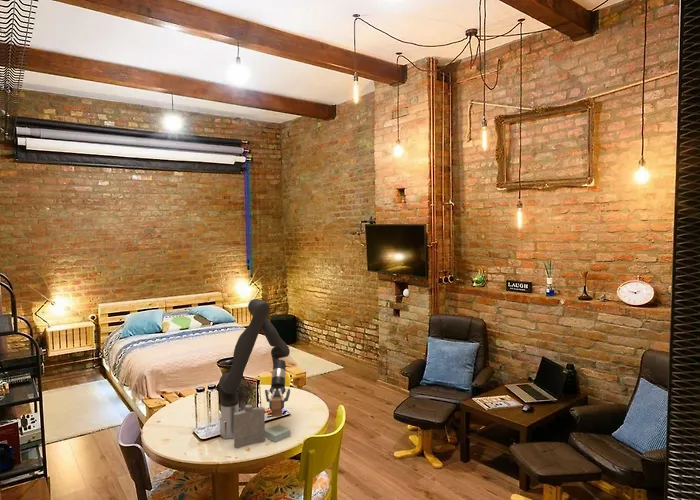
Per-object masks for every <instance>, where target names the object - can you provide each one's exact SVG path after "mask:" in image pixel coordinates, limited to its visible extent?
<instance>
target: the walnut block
mask: <svg viewBox="0 0 700 500" xmlns="http://www.w3.org/2000/svg"><path fill="white" fill-rule="evenodd" d="M281 401H282V397H273V398H272V400H271V406H272V410H271V418H281V417H282V415H283V409H281Z"/></svg>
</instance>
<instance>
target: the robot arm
mask: <svg viewBox="0 0 700 500" xmlns="http://www.w3.org/2000/svg"><path fill="white" fill-rule="evenodd" d="M247 309H248V312H249V314H251V316H252V317H251V320H250V322H249V325H248V326H247V327H246V328H245V329H244V330H243V332H242V333H241V334H240V335H239V336H238V339H237V341H236V344H235V347H234V349H233V355H232V356H233V357H232V364H231V367H230V369H229V372H225V373H223V374H222V375H221V376H220V378H219V381H218V382H219V383H218V389H219V399H220V418H219V433H220V434H219V435H220V436H221V437H222V438H223V439H224V440H226V439H234V413H235V412H239V410H240V407H239V404H240V402H239V399H240V398H239V395H238V392H237V391H238V390H239V388H240V386H241V382H242V379H243V377H244V372H245V369H246V367H247V365H248V362H249V360H250V357H251V354H252V353H253V349H254V347H255V345H256V341H257V339H258V336H259V334H260V331H262V332H263V335H264V337H265V338H266V340H267V343H268V345H269V346H271V350H270V355H271V360H272V373H271V384H270V388H269V389H265V390H264V395H265V399H266V402H267V403H269V404H268V406H269V409H270V410H271V411H272V406H271V400H272V398H273V397H282V401H281V409H282V410H284V408H285V402H289V399H290V394H291V389H290V388H288V389H286V368H287V367H286V365H287V364H286V361H285V360H284V359H283V358H287V357H289V356H290V353H291V352H290V351H291V350H290V348H289V346H288V344H287V343H286V342H285V341H284V340H283V339H282V337H280V335H279V332H278V331H277V330H278V329H276V327H275V325H273V324H272V322H271V321H270V320H269V318H268V315H269V312H270V304H269V303H268V302H267V301H264V300H262V299H259V298H253V299H251V300H250V301H249V303H248V304H247ZM270 393H271V395H270ZM284 394H286V396H285V398H284ZM269 395H270V398H269Z"/></svg>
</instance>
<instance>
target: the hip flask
mask: <svg viewBox="0 0 700 500" xmlns="http://www.w3.org/2000/svg"><path fill="white" fill-rule="evenodd" d="M244 407H245V409H243V410H240V411H239V412H235V413H234V438H233V442H234V444H233V445H234V446H233V447H234V449H240V448H243V447H246V446H250V445H254V444H258V443H259V444H260V443H264V442H265V441H266V438H265V429H266V427H265V426H266V424H265V423H266V422H265V407H264V406H261V407H260V406H259V407H253V405H252V404H246V405H245V406H244Z"/></svg>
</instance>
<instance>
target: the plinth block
mask: <svg viewBox="0 0 700 500" xmlns="http://www.w3.org/2000/svg"><path fill="white" fill-rule="evenodd" d="M290 437H291V429H290V428H288V427H286V426H284V425H282V424H279V423H278V424H275V425H272V426H270V427H268V428H265V439H267V440H270V441H271V442H273V443H274V444H275V443H279V442H280V441H283V440H285V439H287V438H290ZM278 441H279V442H278Z"/></svg>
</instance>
